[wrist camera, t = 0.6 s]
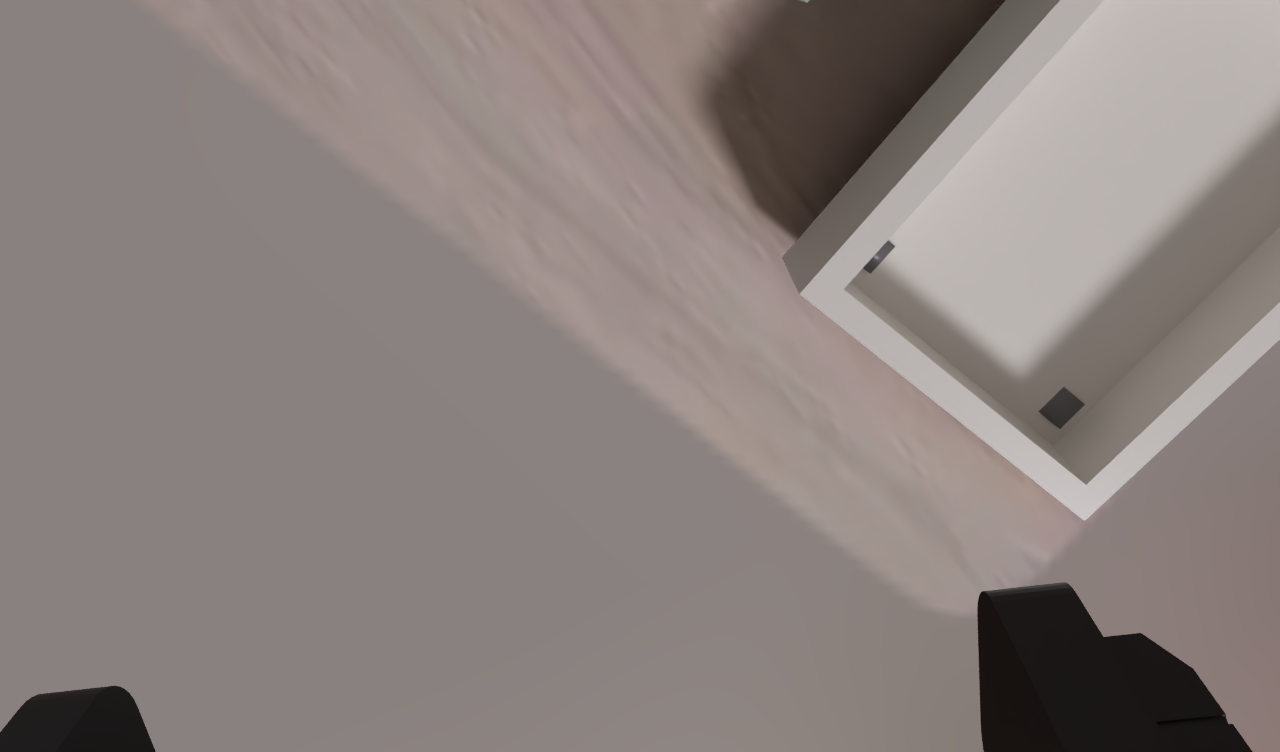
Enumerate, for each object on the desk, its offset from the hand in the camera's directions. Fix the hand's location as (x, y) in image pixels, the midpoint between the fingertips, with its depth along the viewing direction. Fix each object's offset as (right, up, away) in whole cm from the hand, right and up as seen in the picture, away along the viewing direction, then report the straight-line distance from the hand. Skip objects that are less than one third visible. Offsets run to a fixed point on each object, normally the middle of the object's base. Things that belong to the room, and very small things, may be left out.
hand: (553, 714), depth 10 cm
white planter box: (+14, +9, +21) cm, 27 cm away
